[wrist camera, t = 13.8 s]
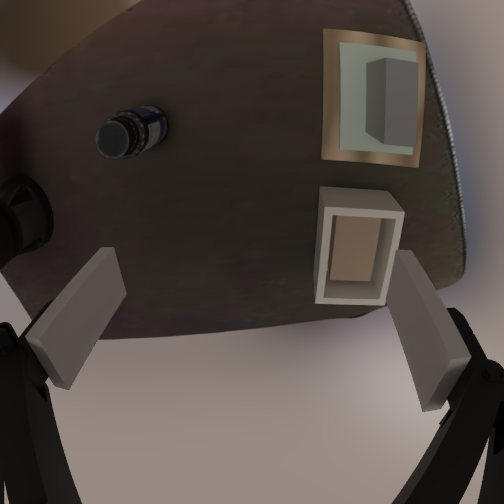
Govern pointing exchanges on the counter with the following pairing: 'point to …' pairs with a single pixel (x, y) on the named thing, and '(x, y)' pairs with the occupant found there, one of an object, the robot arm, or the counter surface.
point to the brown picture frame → (333, 97)
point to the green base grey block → (377, 98)
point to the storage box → (355, 245)
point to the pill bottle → (131, 132)
